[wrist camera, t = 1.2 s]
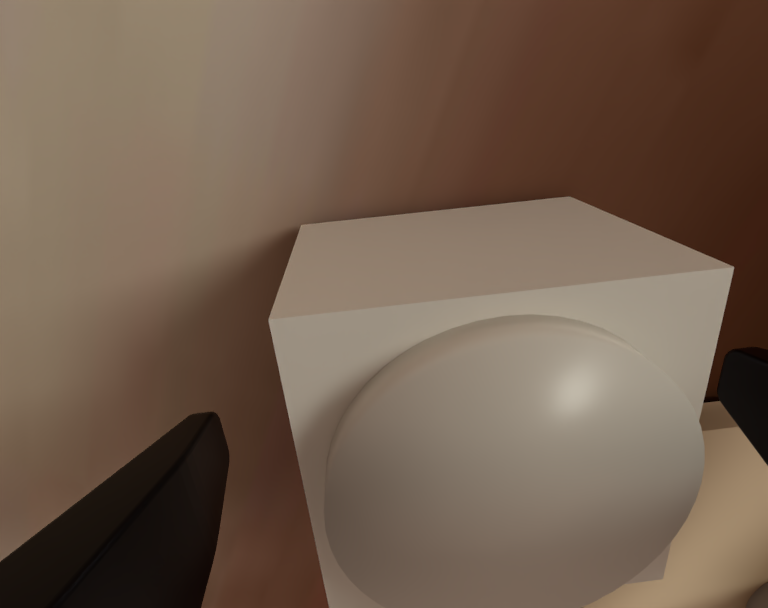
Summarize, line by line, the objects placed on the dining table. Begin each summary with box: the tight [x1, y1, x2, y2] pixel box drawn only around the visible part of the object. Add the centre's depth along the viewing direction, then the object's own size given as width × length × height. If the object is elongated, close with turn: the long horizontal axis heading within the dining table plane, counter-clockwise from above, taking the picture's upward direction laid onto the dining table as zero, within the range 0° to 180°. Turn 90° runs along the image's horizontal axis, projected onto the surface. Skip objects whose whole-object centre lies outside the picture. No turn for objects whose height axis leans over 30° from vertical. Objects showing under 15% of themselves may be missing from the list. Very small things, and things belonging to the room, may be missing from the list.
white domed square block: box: [268, 196, 734, 608], centre depth 8 cm, size 6×6×5 cm
